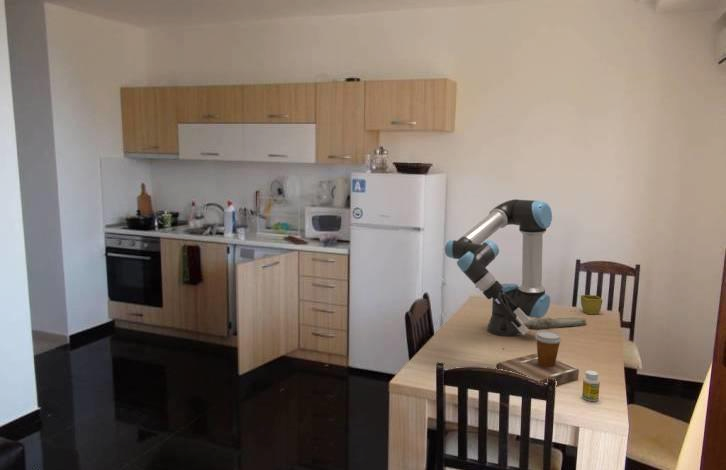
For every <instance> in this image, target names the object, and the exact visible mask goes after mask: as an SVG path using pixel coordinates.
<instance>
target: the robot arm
mask: <svg viewBox="0 0 726 470" xmlns="http://www.w3.org/2000/svg"><path fill="white" fill-rule="evenodd" d="M552 219H553V212H552V208H551V207H550V205H549V204H548V203H547V202H545V201H539V200H529V199H518V198H517V199H510V200H506V201H503V202H502V203H500V204H498V205H497V206H495V207H494V208H492V209H491V210H490V211H489V213H488V215H487V216H486V217H485V218H484V219H482V220H481V221H479V222H478V223H477V224H476V225H475V226H473V227H472V228H471V229H470V230H469V231H468V232H466V233H465V234H463V235H462V236H461V237H460V238H458V239H457V240H455V239H453V240H452V239H451V240H448V241H447V242H446V244H445V246H444V253H445V255H446V257H448V258H451V259H454V260H457V261H456V265H457V266H458V268H459V269H460V271H461V272H463V274H464V275H465V276H466V277H467V278H468V279H469V280H470V281H471V282H472V283H473V284H474V285H475V286H474V287H475V288H476V289H479V291H480V292H482V294H483V296H485V298H486V299H488V300H491V299H492V305H491V306H492V308H491V315H490V320H489V321H488V324H487V331H488V332H489V333H490V334H492V335H495V336H502V337H513V336H514V337H515V336H518V335H519V334H522V335H523V336H524V335H526V334H527V333H528V332H529V331H530V329H529V328H527V327H526V326H525V325H524V324H526V323H527V322H529V321H530V320H531V319H530V318H532V319H533V318H534V319H539V318H544V317H545V315H547V313H548V311H549V308H550V304H551V298H550V295H548V294H547V293H546V288H545V287H544V286H543V282H542V281H543V279H542V278H543V239H544V238H543V236H544V234H545V233H546V232H547V229H548V228H549V227H550V226H551V224H552V221H553V220H552ZM508 225H510V226H511V225H515V226H518V227H519V229H518V230H519V232H520V234H522V254H521V255H522V268H521V269H522V273H521V274H522V275H521V279H522V280H521V283H522V284H521V285H520V286H519V285H518V284H516V283H500V282H499V281H498V280H496V277H495V276H494V275H493V274H492V273H491V272H490V271H489V270H488V269H487V268H486V267H487V266H489V265H490V264H491V263H492V262H493V261H495V259H496V257H497V256H498V255H499V254H500V248H499V246H498V244H496V243H495V242H494V241H493V240H487V239H488V238H490V237H491V236H492V235H493V234H494V233H496V232H497V231H498V230H499V229H503V228H505V227H506V226H508ZM523 323H524V324H523Z"/></svg>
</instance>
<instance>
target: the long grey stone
mask: <svg viewBox="0 0 726 470" xmlns="http://www.w3.org/2000/svg"><path fill="white" fill-rule="evenodd" d="M522 323H523V322H522ZM523 324H524V323H523ZM524 325H525V326H526V327H527V329H528V330H530V329H531V330H532V329H534V330H543V329H545V330H548V329H549V330H550V329H556V328H561V327H564V328H567V327H580V326H585V325H587V320H586V318H584V317H583V318H581V317H562V318H561V317H559V318H552V317H549V316H547V317H542V318H534V319H530V321H529V322H527V323H526V324H524Z"/></svg>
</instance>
